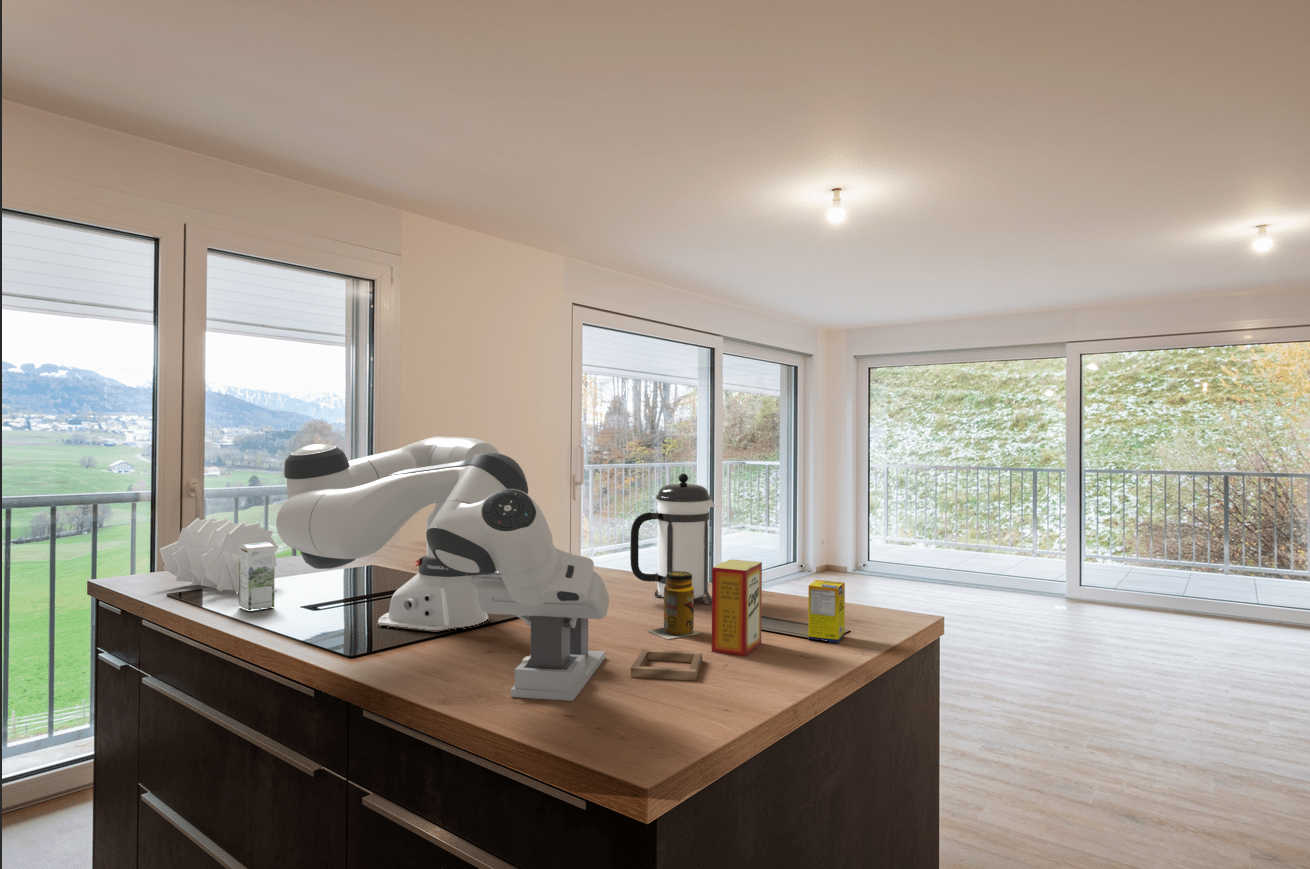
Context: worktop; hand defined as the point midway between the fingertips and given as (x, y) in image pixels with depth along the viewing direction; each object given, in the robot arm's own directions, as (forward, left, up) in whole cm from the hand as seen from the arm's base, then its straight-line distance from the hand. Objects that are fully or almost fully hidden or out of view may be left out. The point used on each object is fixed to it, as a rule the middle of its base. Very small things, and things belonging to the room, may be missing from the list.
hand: (552, 622), depth 130 cm
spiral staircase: (-102, +55, -11) cm, 117 cm away
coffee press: (+12, +62, -11) cm, 64 cm away
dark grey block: (0, -1, -6) cm, 6 cm away
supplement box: (+45, +36, -11) cm, 59 cm away
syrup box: (-80, +38, -11) cm, 89 cm away
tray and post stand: (0, +5, -10) cm, 12 cm away
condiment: (+15, +35, -11) cm, 40 cm away
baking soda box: (+28, +27, -11) cm, 41 cm away
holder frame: (+17, +12, -10) cm, 23 cm away
